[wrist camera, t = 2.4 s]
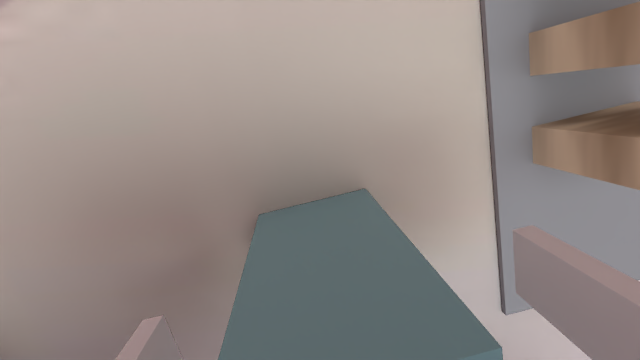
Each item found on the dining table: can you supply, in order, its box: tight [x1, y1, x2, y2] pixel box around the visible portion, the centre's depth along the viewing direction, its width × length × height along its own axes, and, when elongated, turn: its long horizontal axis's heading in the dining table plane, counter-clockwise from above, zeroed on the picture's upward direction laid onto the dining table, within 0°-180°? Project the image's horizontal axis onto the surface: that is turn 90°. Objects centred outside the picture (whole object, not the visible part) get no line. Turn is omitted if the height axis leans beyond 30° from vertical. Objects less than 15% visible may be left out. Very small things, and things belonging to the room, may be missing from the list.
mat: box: [480, 0, 640, 315], centre depth 19 cm, size 12×32×1 cm, turn 13°
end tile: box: [218, 189, 503, 360], centre depth 13 cm, size 7×2×13 cm, turn 103°
